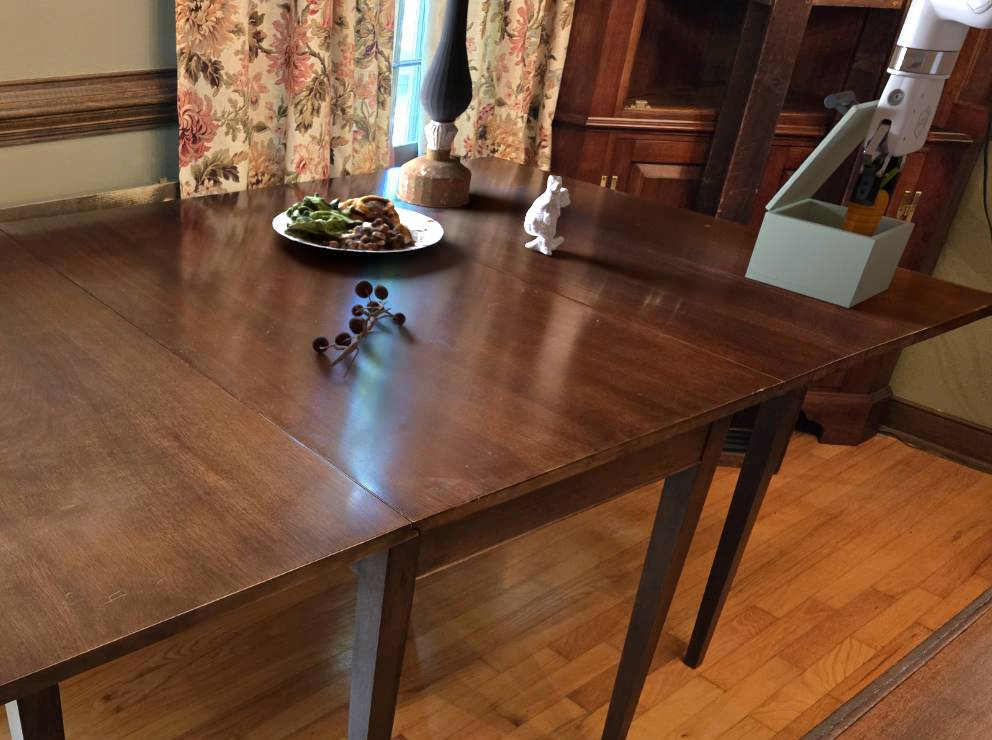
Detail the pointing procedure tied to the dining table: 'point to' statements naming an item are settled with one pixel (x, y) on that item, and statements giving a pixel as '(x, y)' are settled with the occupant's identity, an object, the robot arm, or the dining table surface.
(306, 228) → the plate of food
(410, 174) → the oil lamp
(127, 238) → the dining table surface
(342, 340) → the decorative branch
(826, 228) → the grey-green storage box
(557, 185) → the white kangaroo figurine
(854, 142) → the box lid
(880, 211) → the carrot
